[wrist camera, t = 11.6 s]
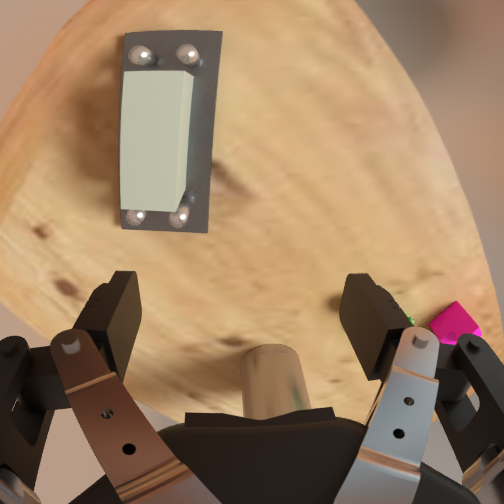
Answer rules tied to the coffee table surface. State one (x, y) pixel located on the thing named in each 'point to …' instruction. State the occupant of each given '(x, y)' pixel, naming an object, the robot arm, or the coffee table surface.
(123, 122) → the block
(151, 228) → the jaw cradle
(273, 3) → the coffee table surface
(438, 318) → the toy block
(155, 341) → the coffee table surface
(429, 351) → the robot arm
